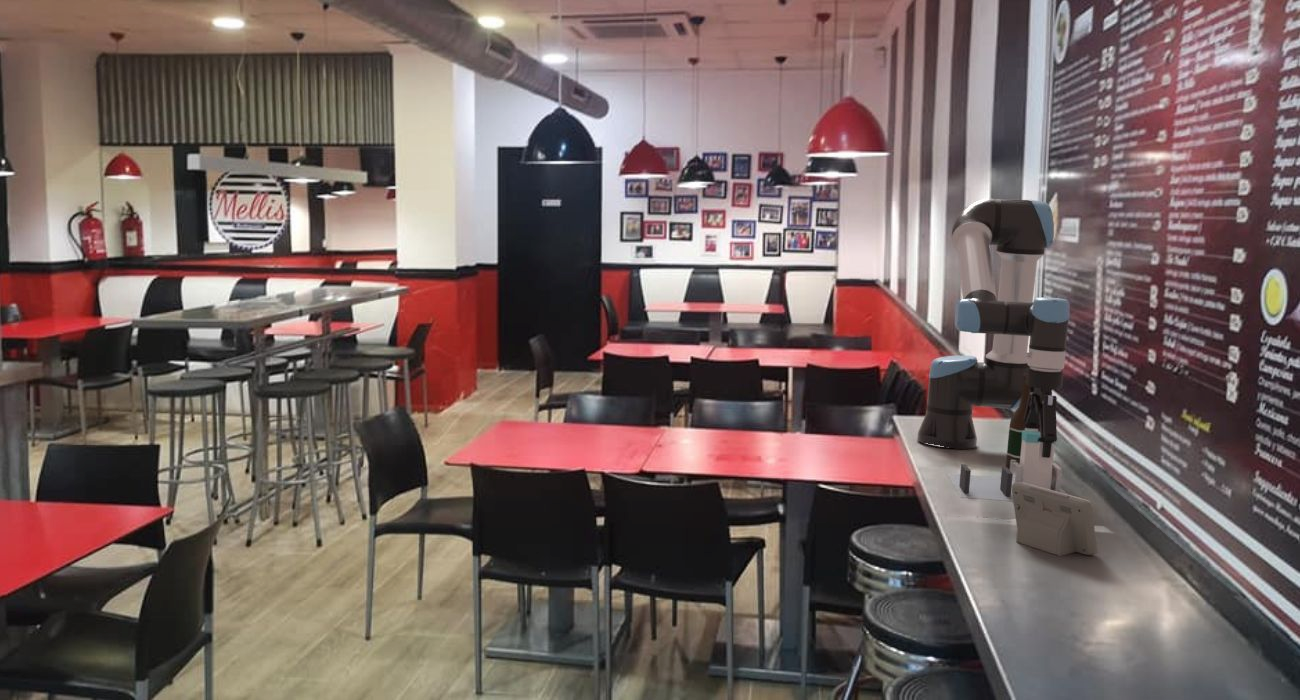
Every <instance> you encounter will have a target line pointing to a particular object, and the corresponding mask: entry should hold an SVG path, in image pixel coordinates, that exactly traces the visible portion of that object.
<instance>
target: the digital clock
mask: <svg viewBox="0 0 1300 700" xmlns="http://www.w3.org/2000/svg"><path fill="white" fill-rule="evenodd" d="M1012 495H1013V501H1012V502H1013V508H1014V515H1015V522H1016V529H1017V531H1016V538H1015V539H1016V543H1019V544H1020V545H1024V546H1028V547H1030V548H1032V549H1033V548H1034V549H1037V550H1040V551H1043V552H1046V553H1048V554H1049V553H1050V555H1051V554H1052V555H1055V556H1058V557H1061V556H1064V555H1068V554H1072V553H1079V554H1082V555H1086V556H1094V555H1096V554H1097V552H1098V547H1097V539H1096V538H1097V537H1096V529H1095V522H1094V521H1095V520H1094V513H1093V505H1092V503H1091V501H1090V500H1088V499H1085V498H1083V497H1079V496H1074V495H1071V494H1069V493H1067V494H1064V493H1060V492H1057V491H1053V490H1049V489H1046V488H1042V487H1038V486H1035V485H1031V484H1027V483H1022V482H1014V483H1013V485H1012Z"/></svg>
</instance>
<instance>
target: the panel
mask: <svg viewBox="0 0 1300 700" xmlns="http://www.w3.org/2000/svg"><path fill="white" fill-rule="evenodd" d="M945 474H946V476H947V478H948V479H949V481H950V483H951V484H952V486H953V487H954V488H955V491H956V492H957V494H958V496H959V497H960V498H965V499H974V500H975V499H976V500H977V499H979V500H990V501H1001V502H1013V495H1012V488H1011V497H1006V496H1005V495H1004V494H1003V492H1002V491H1001V490H1000V485H1001V476H999V477H998V476H986V475H975V474H974V475H973V474H970V485H969V494H966V493H963V491H962V490H961V488H960V486H959V485H960V473H948V472H947V473H945ZM1050 490H1053V489H1052V488H1051V487H1050ZM1053 491H1054V490H1053ZM1060 493H1064V494H1068V493H1067V492H1066V491H1065V490H1064V489H1063V488H1062V486H1060Z"/></svg>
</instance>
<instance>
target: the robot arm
mask: <svg viewBox="0 0 1300 700" xmlns="http://www.w3.org/2000/svg"><path fill="white" fill-rule="evenodd" d="M1054 222H1055V221H1054V215H1053V211H1052V208H1051V206H1050V205H1049V204H1048V202H1045V201H1043V200H1032V199H1006V198H1004V199H1003V198H982V199H979V200H976V201H974V202H972V203H971V204H969V205H967V206H966V207H965V208H964V209H963V210H962V211H960V213H959V214H958V216H957V217H956V218H955V220H954V223H953V225H952V229H951V242H952V245H953V247H954V248H955V249H956V251H957V260H958V268H959V275H960V285H961V294H962V296H961V297H962V298H961V299H958V300H957V301H956V303H955V308H954V309H955V310H954V327H955V329H956V330H957V331H959V332H965V333H971V334H986V335H987V334H991V335H992V334H993V339H992V340H993V341H992V349H991V351H989V352H988V353H987V354H986V355H985V358H984V362H983V361H982V362H979V361H978V359H977V357H976V356H973V355H949V356H948V355H947V356H941V357H937V358H934V359H933V360H932V361H931V364H930V368H929V369H930V370H929V375H928V378H929V379H928V388H927V389H928V390H927V401H926V412H925V416H924V417H923V419H922V422H921V425H920V427H919V429H918V431H917V439H916V440H917V442H919V443H920V442H921V443H920V444H923V443H928V444H934V445H940V446H944V447H949V448H956V449H955V450H968V449H974V448H976V447H977V440H978V437H977V432H976V429H975V425H974V421H973V409H974V408H973V407H982V408H993V409H994V408H997V409H1007V410H1012V409H1013V410H1017V409H1018V408H1019V405H1020V401H1021V395H1022V389H1023V382H1024V378H1023V376H1024V374H1025V373H1026V385H1028V386H1030V388H1029V389H1030V391H1029V397H1028V401H1027V405H1026V410H1025V414H1024V418H1023V423H1025V424H1024V425H1025V427H1027V428H1025V431H1038V429H1034V428H1040V435H1041V438H1038V440H1037V441H1038V442H1039V448H1038V458H1037V468H1036V471H1038V472H1050V470H1051V460H1052V450H1053V443H1054V442H1057V441H1058V436H1057V435H1058V434H1057V433H1058V432H1057V430H1058V429H1057V400H1058V397H1057V395H1053V390H1059V389H1061V388H1062V387H1063V382H1064V381H1063V380H1064V379H1063V378H1064V372H1063V371H1062V370H1063V369H1065V364H1066V363H1065V361H1066V352H1067V350H1066V349H1067V341H1068V340H1067V339H1068V331H1069V330H1068V329H1069V321H1070V317H1071V313H1070V305H1071V304H1070V301H1069V300H1067V299H1066V298H1060V297H1045V296H1043V297H1041V296H1040V297H1036V298H1034V294H1035V293H1034V291H1035V283H1036V273H1037V267H1038V266H1037V264H1038V261H1039V260H1040V259H1041V258H1043V257H1044V256H1045V250H1046V249H1048V248H1051V247H1052V246H1053V243H1054V237H1055V223H1054ZM990 245H991V246H992V245H993V246H996V249H995V250H996V251H995V252H996V254H997V255H998V256H999V258H1001V262H1000V263H1001V264H1000V273H999V283H998V290H996V283H995V276H994V275H995V274H994V268H993V265H992V264H993V262H992V257H991V250H990ZM997 291H998V292H997ZM997 293H998V294H997ZM1038 422H1039V423H1038ZM1039 424H1040V425H1039Z"/></svg>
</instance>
